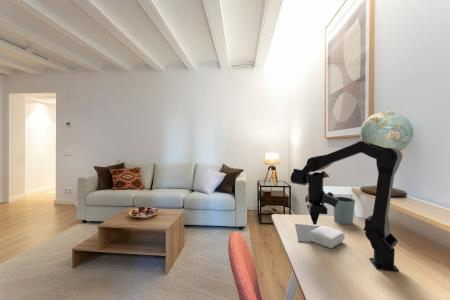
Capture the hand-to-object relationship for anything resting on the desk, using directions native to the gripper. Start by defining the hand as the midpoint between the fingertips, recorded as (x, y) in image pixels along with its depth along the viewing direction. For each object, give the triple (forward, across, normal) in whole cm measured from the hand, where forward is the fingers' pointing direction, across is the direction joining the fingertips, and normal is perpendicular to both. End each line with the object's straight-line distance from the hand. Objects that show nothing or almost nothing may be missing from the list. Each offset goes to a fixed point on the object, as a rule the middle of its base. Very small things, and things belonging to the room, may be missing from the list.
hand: (314, 224), depth 94 cm
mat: (+7, +7, 0) cm, 10 cm away
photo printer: (+4, -4, -1) cm, 6 cm away
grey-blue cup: (+7, +28, -18) cm, 34 cm away
